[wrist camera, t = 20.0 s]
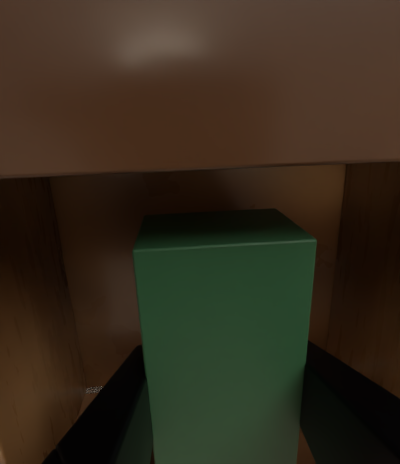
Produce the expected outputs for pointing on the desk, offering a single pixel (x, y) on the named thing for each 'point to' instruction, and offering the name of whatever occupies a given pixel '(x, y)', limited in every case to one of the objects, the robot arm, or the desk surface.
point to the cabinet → (196, 85)
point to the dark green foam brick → (224, 333)
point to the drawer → (124, 289)
